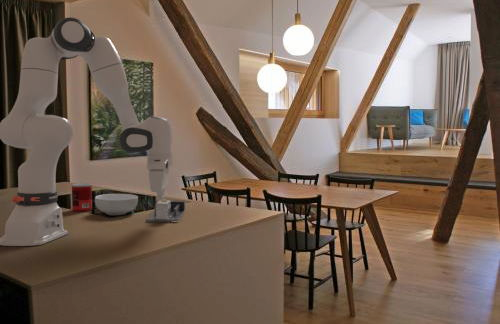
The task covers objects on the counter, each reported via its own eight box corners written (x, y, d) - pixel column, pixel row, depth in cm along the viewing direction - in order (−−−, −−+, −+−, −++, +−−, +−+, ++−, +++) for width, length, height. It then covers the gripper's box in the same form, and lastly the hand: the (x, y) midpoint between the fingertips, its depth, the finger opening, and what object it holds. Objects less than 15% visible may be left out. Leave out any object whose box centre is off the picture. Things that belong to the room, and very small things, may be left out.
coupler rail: (178, 222, 174) (178, 210, 173) (145, 222, 174) (145, 210, 173) (185, 211, 196) (185, 200, 195) (156, 211, 196) (156, 200, 195)
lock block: (167, 219, 174) (167, 201, 174) (156, 219, 174) (155, 201, 174) (170, 215, 181) (170, 198, 181) (159, 215, 181) (159, 198, 181)
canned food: (95, 208, 199) (94, 183, 198) (86, 212, 191) (86, 185, 190) (77, 208, 199) (77, 182, 198) (68, 211, 191) (68, 185, 191)
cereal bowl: (122, 219, 179) (122, 200, 178) (86, 215, 184) (85, 198, 183) (145, 211, 195) (145, 194, 194) (112, 208, 200) (111, 192, 199)
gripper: (155, 158, 178) (156, 194, 179) (145, 165, 157) (146, 205, 159) (172, 158, 178) (173, 194, 179) (164, 165, 158) (165, 205, 159)
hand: (160, 199), depth 169 cm, fingers closed
